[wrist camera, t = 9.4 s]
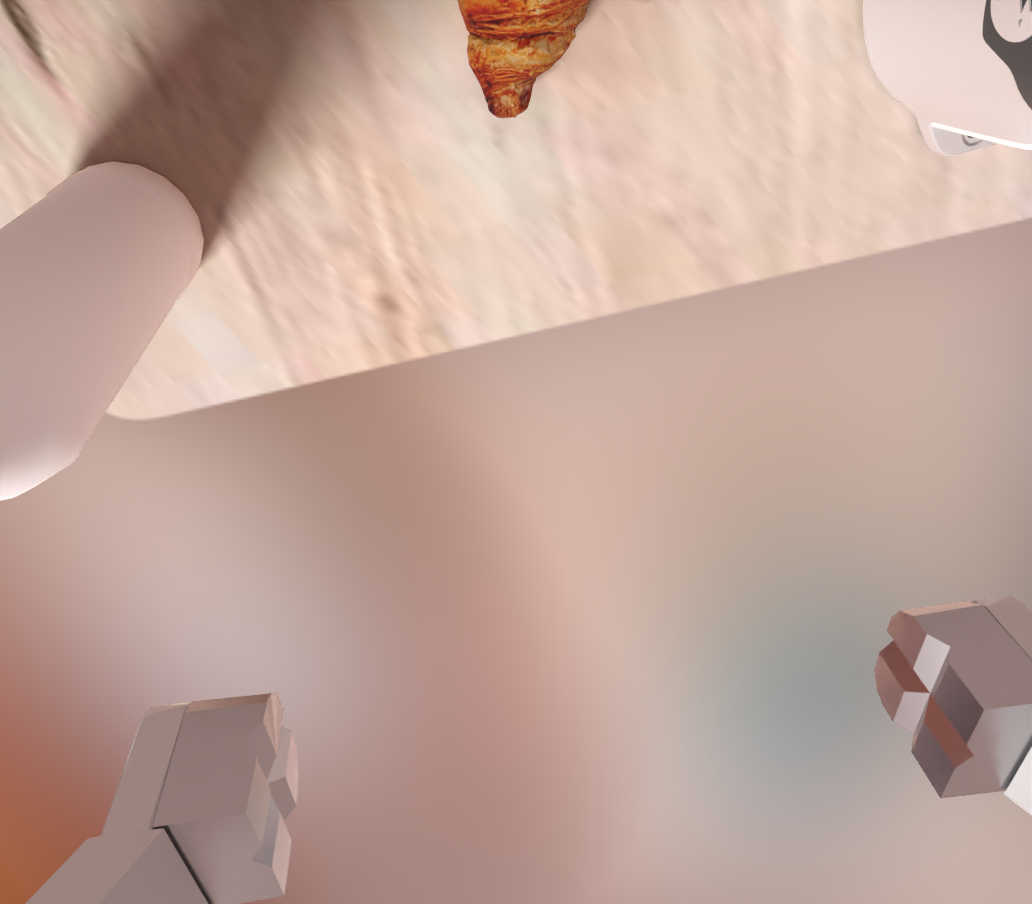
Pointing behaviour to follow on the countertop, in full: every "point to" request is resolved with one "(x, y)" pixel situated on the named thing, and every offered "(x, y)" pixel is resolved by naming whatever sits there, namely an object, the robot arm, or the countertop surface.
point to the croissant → (517, 45)
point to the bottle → (83, 307)
